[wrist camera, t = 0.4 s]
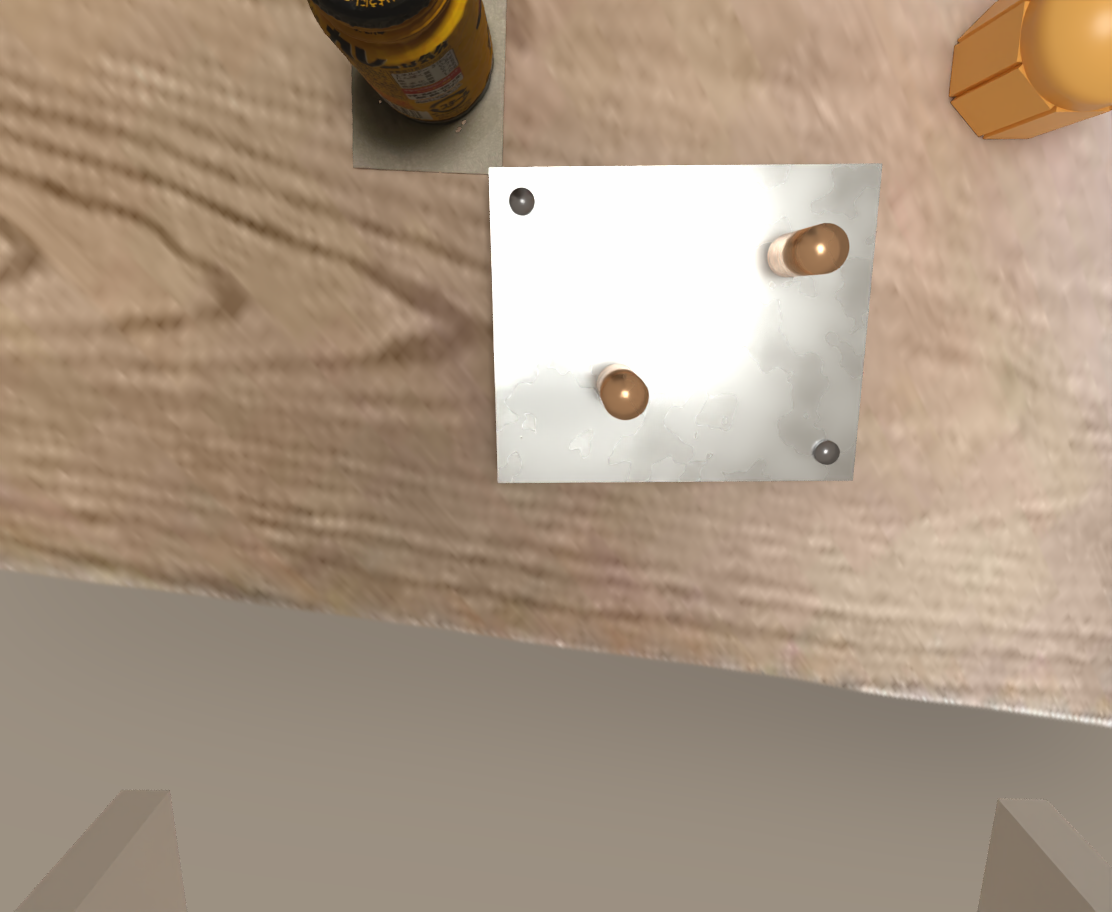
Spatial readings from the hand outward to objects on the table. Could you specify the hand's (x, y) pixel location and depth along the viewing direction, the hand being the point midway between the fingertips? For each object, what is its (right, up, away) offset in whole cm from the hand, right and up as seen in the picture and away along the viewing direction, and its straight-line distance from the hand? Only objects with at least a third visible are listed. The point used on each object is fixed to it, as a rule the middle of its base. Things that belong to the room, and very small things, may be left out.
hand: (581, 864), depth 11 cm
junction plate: (+6, +13, +24) cm, 28 cm away
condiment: (-7, +25, +22) cm, 34 cm away
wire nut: (+21, +25, +22) cm, 39 cm away
